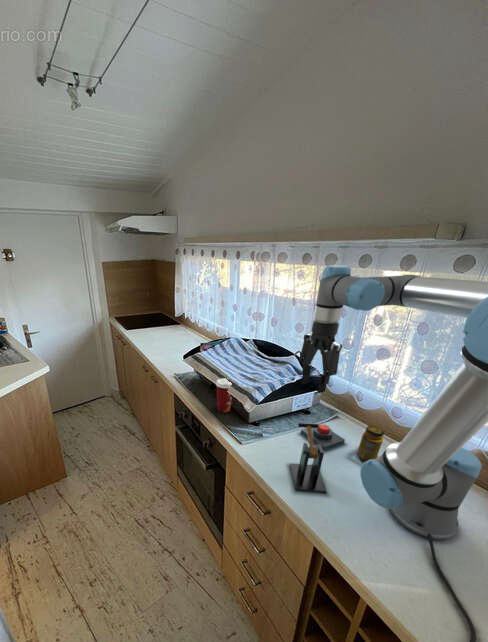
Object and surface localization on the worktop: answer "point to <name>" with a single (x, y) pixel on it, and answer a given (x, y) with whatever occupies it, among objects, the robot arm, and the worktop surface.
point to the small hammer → (310, 438)
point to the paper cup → (223, 395)
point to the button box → (324, 438)
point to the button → (323, 429)
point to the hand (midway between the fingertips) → (312, 387)
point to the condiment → (370, 443)
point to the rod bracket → (308, 472)
